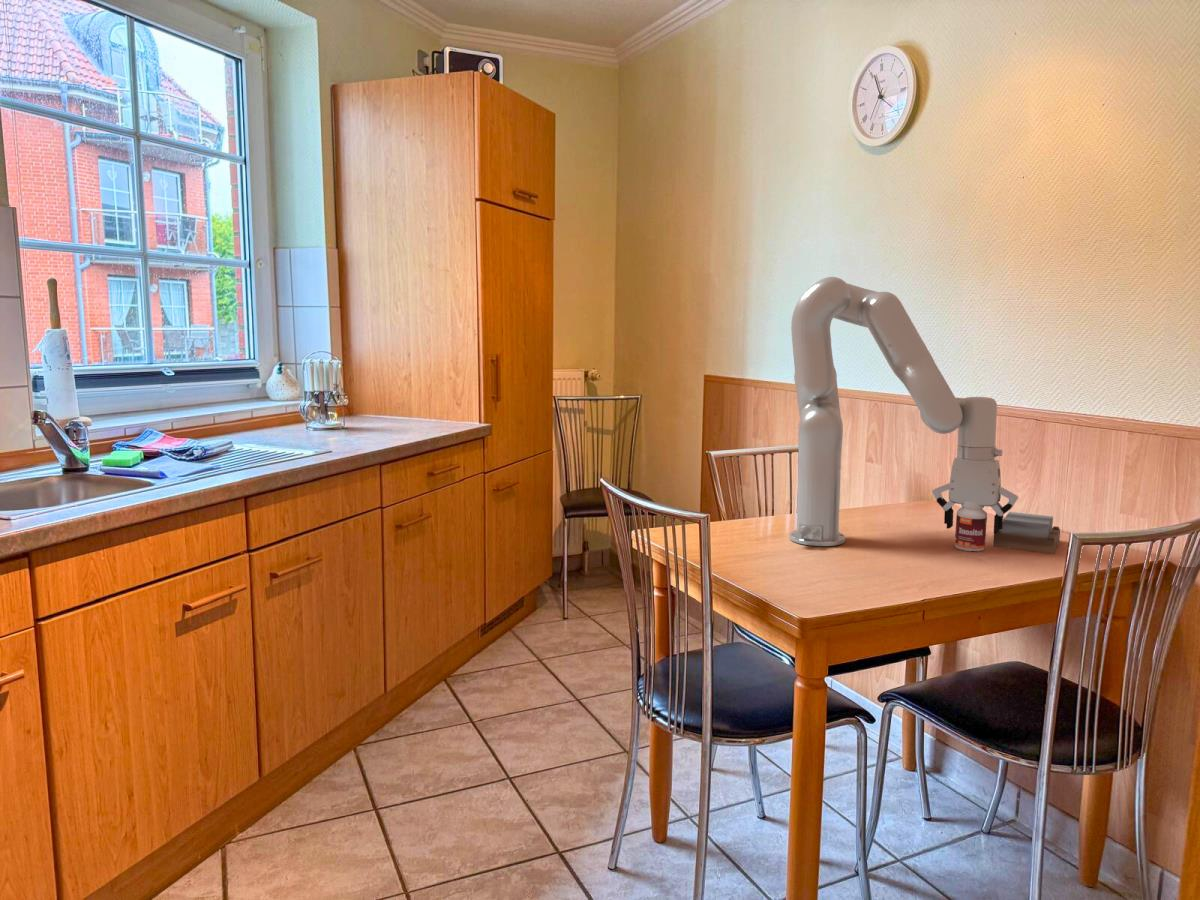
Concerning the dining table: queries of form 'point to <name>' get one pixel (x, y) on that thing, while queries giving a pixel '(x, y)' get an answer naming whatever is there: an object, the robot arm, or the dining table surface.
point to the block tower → (1028, 533)
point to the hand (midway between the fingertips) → (972, 529)
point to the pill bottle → (970, 527)
